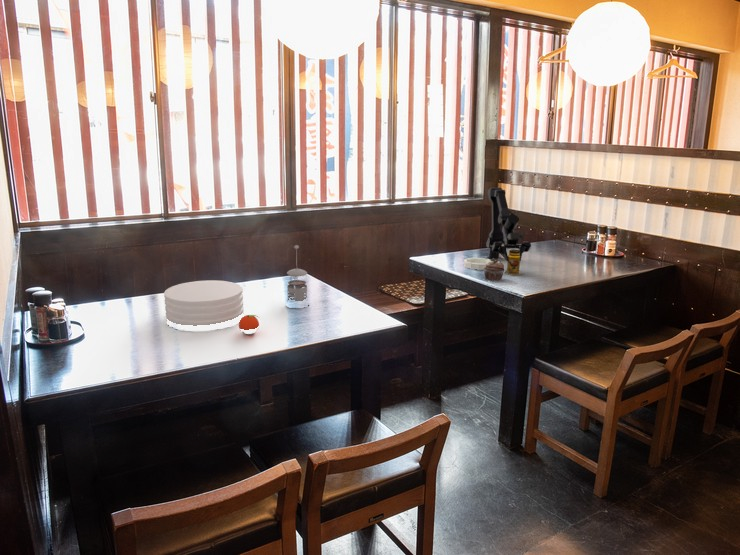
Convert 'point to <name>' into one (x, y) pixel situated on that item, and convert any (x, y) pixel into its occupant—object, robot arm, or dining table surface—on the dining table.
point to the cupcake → (494, 270)
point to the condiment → (513, 262)
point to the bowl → (476, 263)
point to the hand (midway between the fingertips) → (514, 260)
